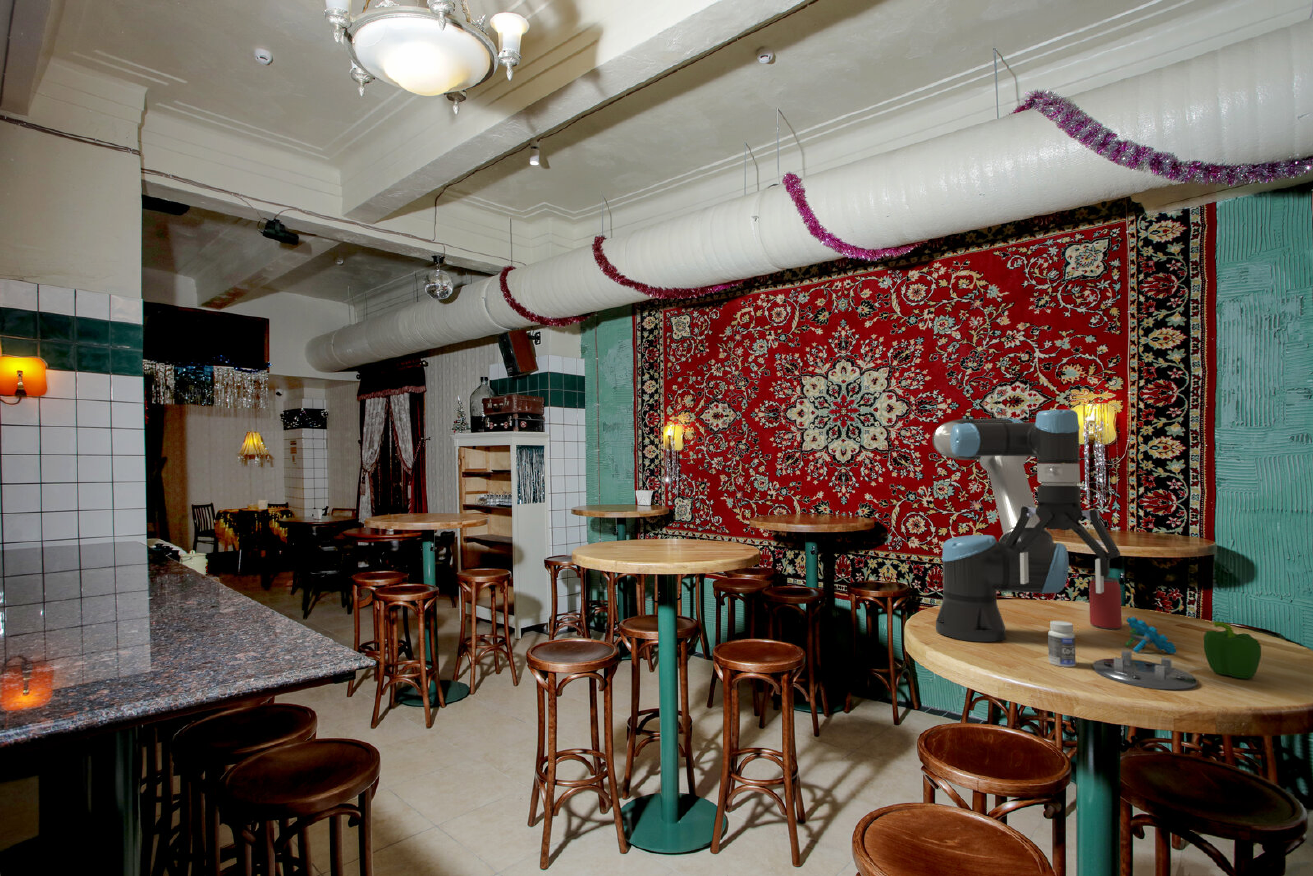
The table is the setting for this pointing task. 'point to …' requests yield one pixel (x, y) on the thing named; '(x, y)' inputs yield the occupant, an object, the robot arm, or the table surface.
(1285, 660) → the table surface
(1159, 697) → the table surface
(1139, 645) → the gear
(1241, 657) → the bell pepper
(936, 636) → the table surface
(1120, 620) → the beer can
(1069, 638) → the pill bottle
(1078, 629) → the table surface
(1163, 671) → the hub
